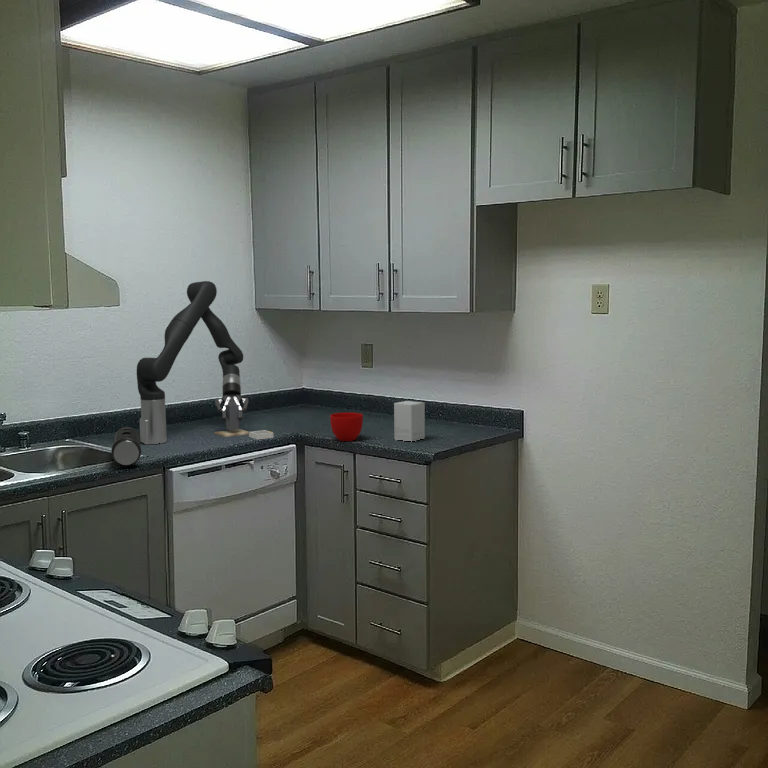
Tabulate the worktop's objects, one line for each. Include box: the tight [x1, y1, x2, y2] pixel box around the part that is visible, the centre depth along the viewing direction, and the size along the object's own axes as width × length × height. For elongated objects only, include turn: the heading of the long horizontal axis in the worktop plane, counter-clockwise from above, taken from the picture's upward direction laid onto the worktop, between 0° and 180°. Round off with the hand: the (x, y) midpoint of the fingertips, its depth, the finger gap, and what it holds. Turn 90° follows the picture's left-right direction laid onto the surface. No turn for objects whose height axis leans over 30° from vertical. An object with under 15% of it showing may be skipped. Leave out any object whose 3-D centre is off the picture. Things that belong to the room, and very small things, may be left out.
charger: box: [225, 404, 240, 431], centre depth 336 cm, size 4×4×10 cm
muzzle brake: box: [111, 426, 142, 467], centre depth 285 cm, size 10×28×10 cm, turn 17°
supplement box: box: [393, 400, 426, 443], centre depth 322 cm, size 9×9×15 cm
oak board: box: [213, 428, 250, 438], centre depth 336 cm, size 12×10×1 cm
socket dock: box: [248, 429, 274, 440], centre depth 328 cm, size 7×7×3 cm
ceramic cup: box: [329, 412, 364, 442], centre depth 325 cm, size 13×17×10 cm
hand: (232, 419), depth 334 cm, fingers closed on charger, 5 cm apart
